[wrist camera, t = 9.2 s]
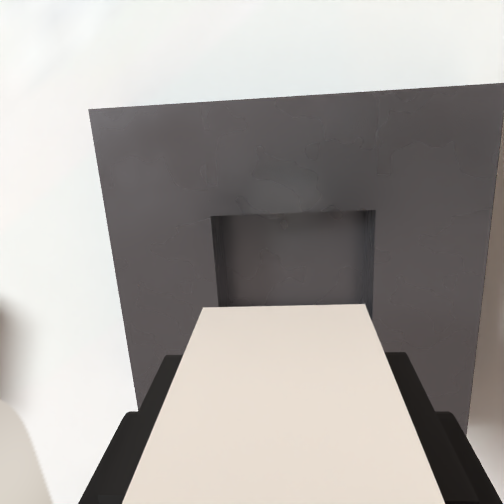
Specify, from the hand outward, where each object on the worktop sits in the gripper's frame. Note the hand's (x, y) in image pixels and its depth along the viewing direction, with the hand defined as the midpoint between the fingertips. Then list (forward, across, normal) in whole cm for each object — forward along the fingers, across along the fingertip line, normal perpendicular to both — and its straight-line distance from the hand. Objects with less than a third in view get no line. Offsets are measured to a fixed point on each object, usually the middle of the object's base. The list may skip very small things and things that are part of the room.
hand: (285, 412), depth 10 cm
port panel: (+10, 0, 0) cm, 10 cm away
